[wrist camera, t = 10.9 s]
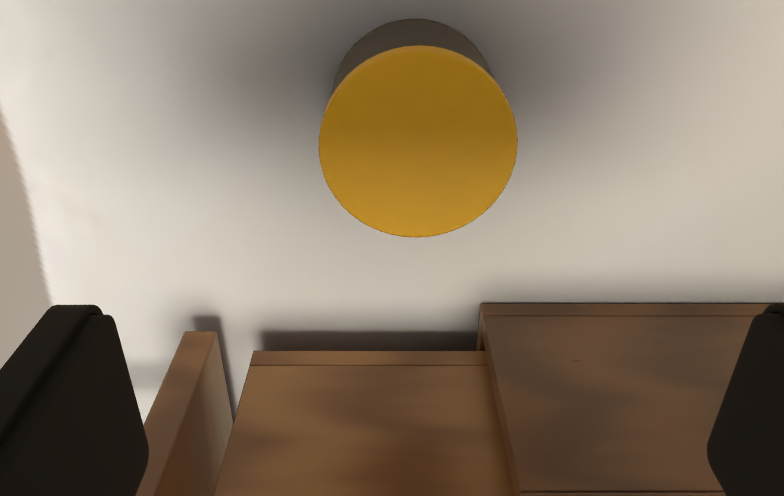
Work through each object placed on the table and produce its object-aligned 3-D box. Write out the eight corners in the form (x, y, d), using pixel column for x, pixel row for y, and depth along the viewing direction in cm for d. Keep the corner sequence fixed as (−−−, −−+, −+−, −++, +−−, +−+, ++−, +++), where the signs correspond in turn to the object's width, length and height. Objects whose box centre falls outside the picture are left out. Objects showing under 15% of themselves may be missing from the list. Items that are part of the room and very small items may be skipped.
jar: (326, 16, 18) (312, 50, 15) (502, 17, 18) (529, 51, 15) (334, 177, 21) (323, 237, 17) (487, 177, 21) (507, 238, 17)
